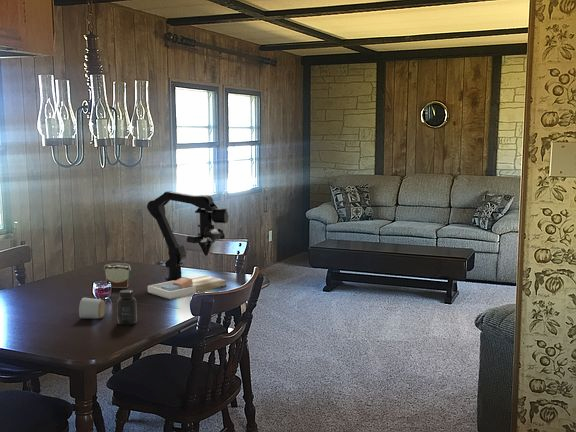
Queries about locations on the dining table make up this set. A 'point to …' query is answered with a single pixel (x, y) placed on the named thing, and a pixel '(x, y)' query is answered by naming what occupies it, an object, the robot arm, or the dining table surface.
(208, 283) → the birch plate
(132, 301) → the supplement bottle
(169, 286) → the slate tile
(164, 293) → the box
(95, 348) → the dining table surface
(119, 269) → the food container
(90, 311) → the white cylinder
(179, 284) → the terracotta tile
